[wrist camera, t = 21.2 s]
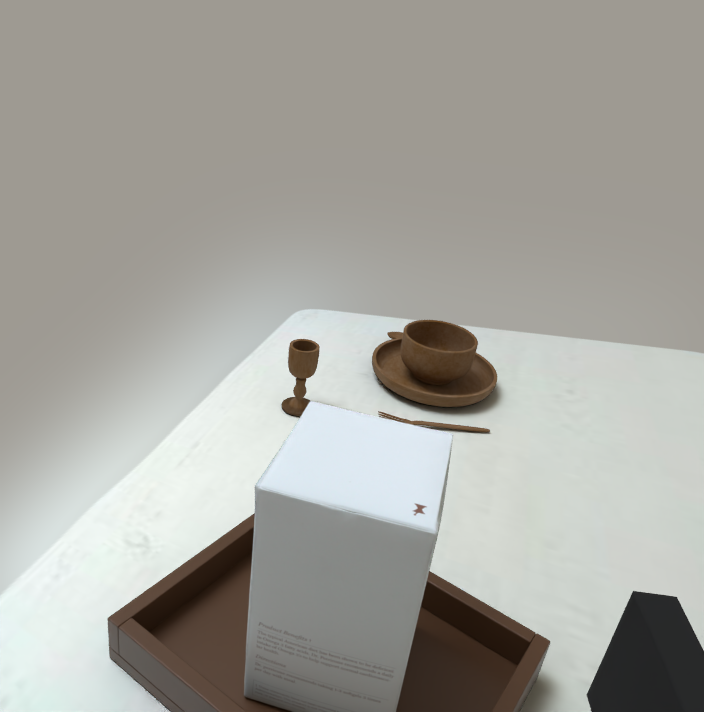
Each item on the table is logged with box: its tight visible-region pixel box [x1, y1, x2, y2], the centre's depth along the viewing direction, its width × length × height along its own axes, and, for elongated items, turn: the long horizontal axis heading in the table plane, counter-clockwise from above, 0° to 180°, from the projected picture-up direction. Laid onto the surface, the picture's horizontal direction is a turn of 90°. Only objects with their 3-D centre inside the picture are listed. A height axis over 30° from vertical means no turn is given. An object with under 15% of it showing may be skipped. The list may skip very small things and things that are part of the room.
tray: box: [108, 513, 550, 712], centre depth 34 cm, size 18×14×3 cm
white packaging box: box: [244, 401, 453, 712], centre depth 31 cm, size 7×7×13 cm
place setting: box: [282, 320, 497, 432], centre depth 62 cm, size 18×20×6 cm
